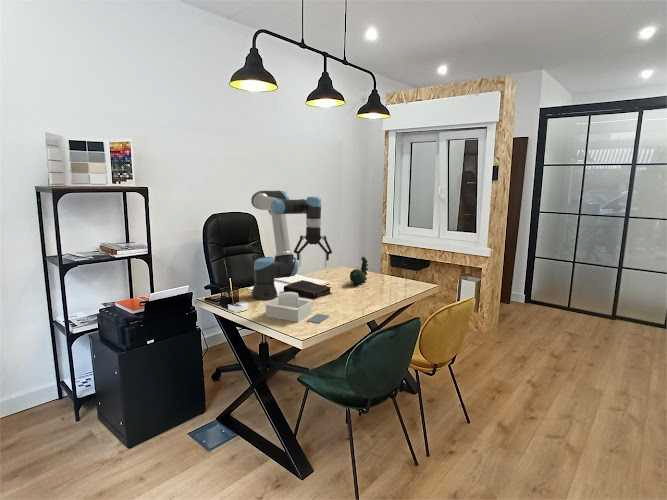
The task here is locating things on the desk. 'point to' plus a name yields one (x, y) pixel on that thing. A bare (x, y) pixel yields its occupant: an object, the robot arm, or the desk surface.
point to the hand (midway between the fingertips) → (312, 266)
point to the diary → (308, 289)
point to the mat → (318, 318)
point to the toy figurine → (359, 273)
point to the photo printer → (289, 299)
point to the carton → (289, 310)
